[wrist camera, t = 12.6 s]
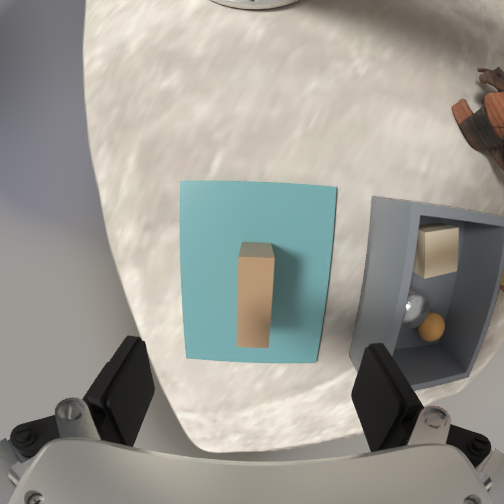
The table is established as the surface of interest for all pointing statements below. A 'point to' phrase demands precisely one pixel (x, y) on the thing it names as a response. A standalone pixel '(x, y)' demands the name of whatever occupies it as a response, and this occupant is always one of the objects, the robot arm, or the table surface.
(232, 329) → the lid
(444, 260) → the birch block
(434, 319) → the rubber ball
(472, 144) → the brown irregular piece
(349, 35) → the table surface
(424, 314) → the metal knob
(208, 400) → the table surface
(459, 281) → the storage box
